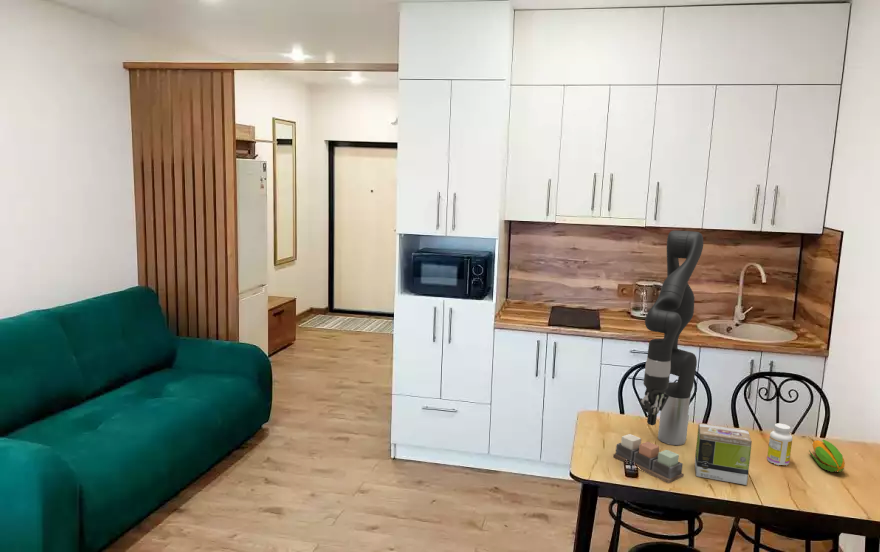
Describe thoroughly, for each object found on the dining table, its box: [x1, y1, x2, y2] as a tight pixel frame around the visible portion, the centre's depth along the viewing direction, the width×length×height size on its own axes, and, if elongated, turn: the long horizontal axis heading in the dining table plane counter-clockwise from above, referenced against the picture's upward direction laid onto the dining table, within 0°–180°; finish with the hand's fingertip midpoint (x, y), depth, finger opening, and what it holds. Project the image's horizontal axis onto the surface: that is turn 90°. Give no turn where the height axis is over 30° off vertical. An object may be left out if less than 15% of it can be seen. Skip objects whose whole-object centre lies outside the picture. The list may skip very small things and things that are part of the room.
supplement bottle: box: [766, 422, 793, 466], centre depth 216 cm, size 7×7×13 cm
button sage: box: [657, 449, 680, 467], centre depth 203 cm, size 4×4×4 cm
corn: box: [808, 438, 846, 473], centre depth 218 cm, size 7×8×20 cm
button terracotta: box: [639, 441, 661, 458], centre depth 209 cm, size 4×4×4 cm
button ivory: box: [620, 433, 642, 450], centre depth 214 cm, size 4×4×4 cm
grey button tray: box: [612, 442, 684, 484], centre depth 209 cm, size 8×21×4 cm, turn 37°
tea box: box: [694, 422, 753, 486], centre depth 205 cm, size 15×10×15 cm, turn 71°
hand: (651, 424), depth 207 cm, fingers closed
